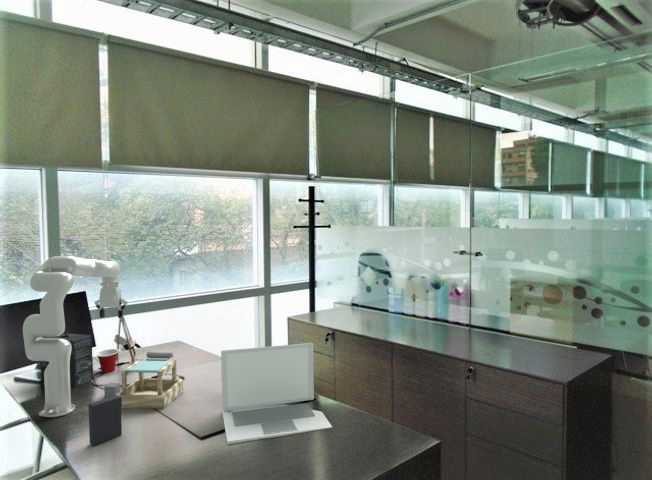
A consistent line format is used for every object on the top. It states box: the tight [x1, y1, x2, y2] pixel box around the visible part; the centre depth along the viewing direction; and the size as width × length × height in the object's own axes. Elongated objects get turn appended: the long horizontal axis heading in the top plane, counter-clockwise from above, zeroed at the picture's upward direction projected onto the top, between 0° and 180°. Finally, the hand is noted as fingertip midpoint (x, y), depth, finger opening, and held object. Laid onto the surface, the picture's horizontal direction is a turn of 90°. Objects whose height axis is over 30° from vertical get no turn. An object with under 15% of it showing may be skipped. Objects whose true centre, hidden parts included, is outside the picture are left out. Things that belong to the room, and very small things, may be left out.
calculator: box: [87, 395, 123, 446], centre depth 175 cm, size 11×4×15 cm, turn 143°
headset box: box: [40, 332, 94, 389], centre depth 235 cm, size 22×12×26 cm, turn 71°
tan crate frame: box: [116, 358, 184, 409], centre depth 213 cm, size 22×22×16 cm
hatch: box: [127, 351, 174, 374], centre depth 215 cm, size 19×14×4 cm
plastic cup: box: [95, 348, 119, 374], centre depth 249 cm, size 11×11×12 cm
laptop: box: [220, 342, 333, 445], centre depth 189 cm, size 40×29×28 cm
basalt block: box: [103, 382, 122, 399], centre depth 216 cm, size 5×5×6 cm
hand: (111, 317), depth 244 cm, fingers open, 9 cm apart
